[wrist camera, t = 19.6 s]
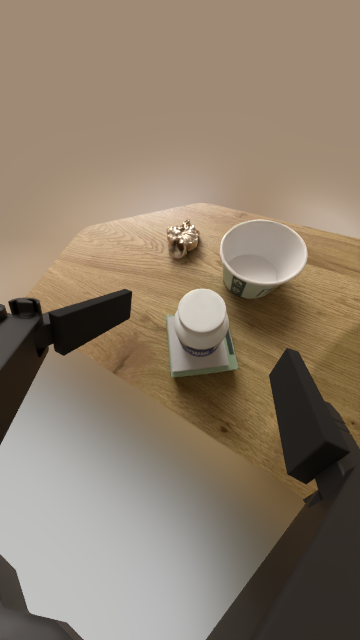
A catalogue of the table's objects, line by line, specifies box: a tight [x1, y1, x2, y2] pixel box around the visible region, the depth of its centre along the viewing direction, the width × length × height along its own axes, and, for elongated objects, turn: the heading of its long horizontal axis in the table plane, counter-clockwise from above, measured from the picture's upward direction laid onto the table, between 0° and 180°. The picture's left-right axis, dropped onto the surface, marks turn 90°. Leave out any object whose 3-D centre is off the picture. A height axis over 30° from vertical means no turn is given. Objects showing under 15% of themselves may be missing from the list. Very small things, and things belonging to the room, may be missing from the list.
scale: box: [166, 315, 239, 378], centre depth 24 cm, size 9×9×4 cm
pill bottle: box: [174, 289, 229, 358], centre depth 18 cm, size 5×5×10 cm
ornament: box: [167, 220, 200, 259], centre depth 32 cm, size 8×7×4 cm
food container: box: [220, 220, 308, 299], centre depth 26 cm, size 12×12×6 cm
